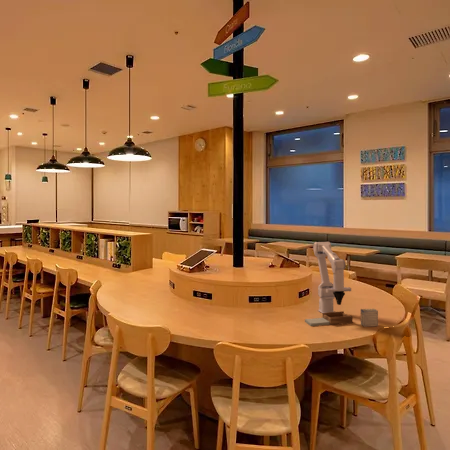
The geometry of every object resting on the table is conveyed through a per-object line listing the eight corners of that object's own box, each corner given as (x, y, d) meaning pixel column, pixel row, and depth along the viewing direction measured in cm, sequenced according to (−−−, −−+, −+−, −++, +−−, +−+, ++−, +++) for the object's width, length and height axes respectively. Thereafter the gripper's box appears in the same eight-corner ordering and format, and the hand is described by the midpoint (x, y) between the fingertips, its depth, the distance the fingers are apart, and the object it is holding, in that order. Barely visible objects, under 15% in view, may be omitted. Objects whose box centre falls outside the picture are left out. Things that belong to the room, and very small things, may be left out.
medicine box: (374, 323, 197) (374, 308, 197) (378, 326, 193) (378, 310, 192) (360, 324, 197) (360, 308, 196) (363, 327, 192) (363, 311, 192)
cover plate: (304, 322, 204) (304, 319, 204) (322, 321, 206) (322, 317, 206) (311, 327, 196) (311, 323, 196) (329, 325, 198) (329, 321, 198)
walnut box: (322, 319, 207) (322, 312, 207) (343, 318, 209) (343, 311, 209) (330, 325, 197) (330, 317, 197) (352, 323, 199) (352, 315, 199)
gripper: (329, 282, 199) (330, 307, 199) (354, 281, 201) (354, 305, 201) (324, 280, 205) (324, 303, 206) (347, 279, 208) (348, 302, 208)
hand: (338, 304), depth 204 cm, fingers closed
